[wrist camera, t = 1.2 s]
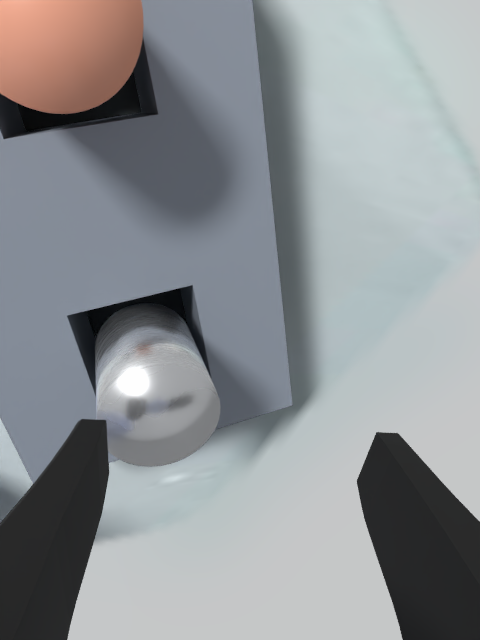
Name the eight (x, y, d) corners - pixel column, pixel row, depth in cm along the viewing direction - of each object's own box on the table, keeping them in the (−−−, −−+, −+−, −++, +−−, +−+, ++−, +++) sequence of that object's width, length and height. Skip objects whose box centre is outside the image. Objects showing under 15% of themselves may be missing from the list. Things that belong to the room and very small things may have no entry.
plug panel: (45, 410, 22) (34, 486, 17) (-175, -98, 13) (-307, -200, 9) (256, 351, 24) (292, 405, 20) (191, -118, 15) (231, -208, 11)
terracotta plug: (16, 120, 13) (-17, 127, 9) (-38, -36, 11) (-107, -113, 7) (140, 102, 13) (161, 99, 10) (108, -48, 12) (117, -124, 8)
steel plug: (109, 397, 17) (115, 481, 13) (82, 316, 16) (80, 386, 12) (198, 372, 18) (228, 445, 14) (181, 292, 16) (209, 350, 13)
